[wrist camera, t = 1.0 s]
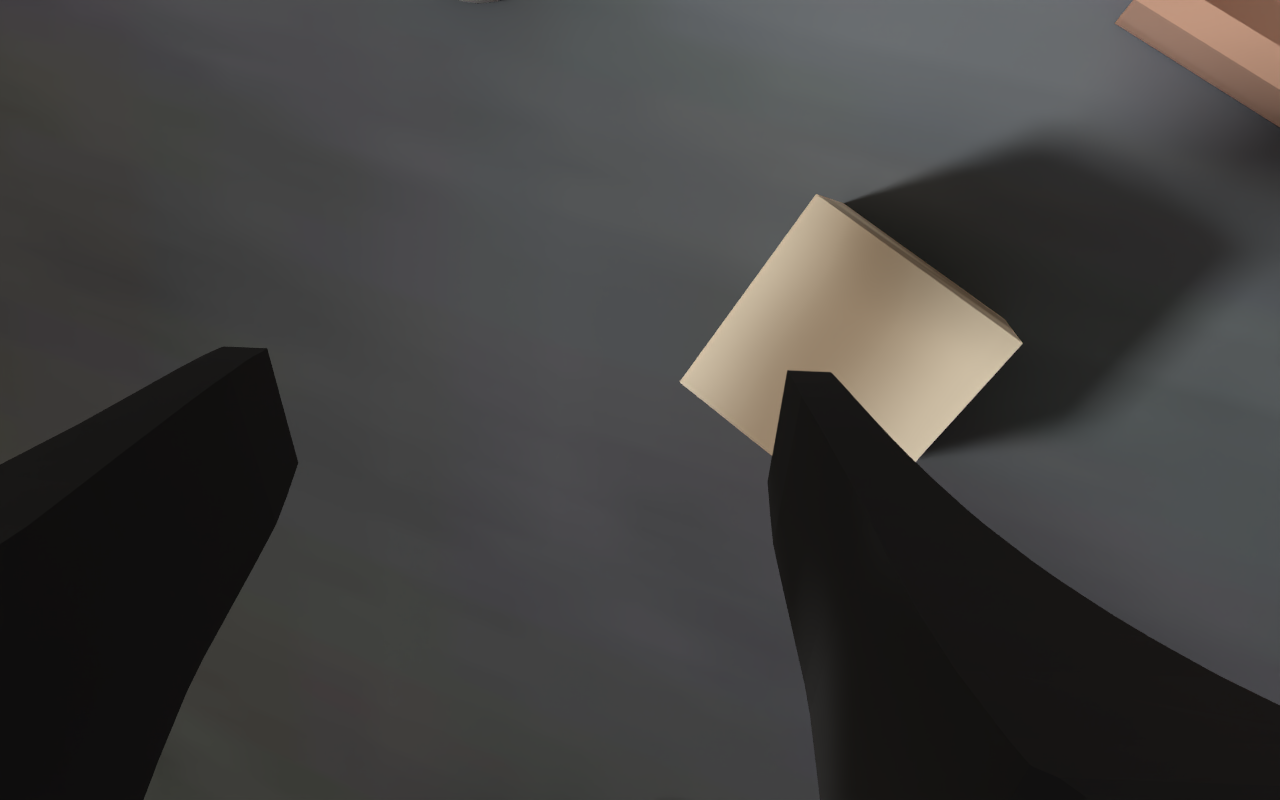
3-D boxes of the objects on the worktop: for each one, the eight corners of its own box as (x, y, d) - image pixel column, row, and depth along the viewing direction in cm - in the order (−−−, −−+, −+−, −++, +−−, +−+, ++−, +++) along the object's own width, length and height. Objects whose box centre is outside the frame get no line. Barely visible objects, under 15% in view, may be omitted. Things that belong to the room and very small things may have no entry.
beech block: (1004, 318, 20) (1022, 343, 16) (876, 464, 22) (858, 524, 17) (844, 203, 21) (816, 193, 16) (732, 352, 23) (679, 381, 18)
